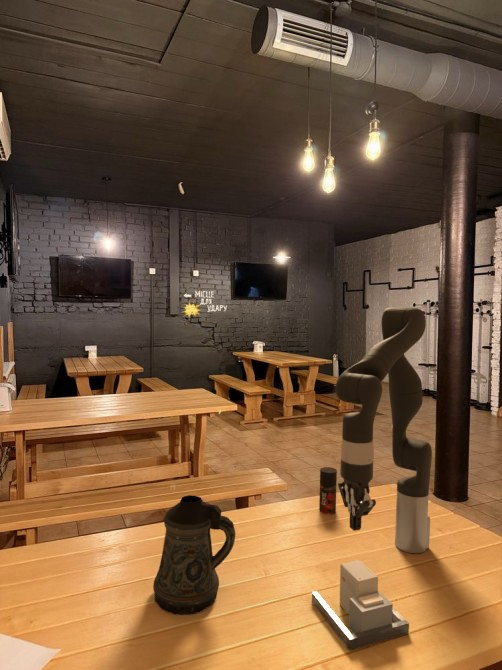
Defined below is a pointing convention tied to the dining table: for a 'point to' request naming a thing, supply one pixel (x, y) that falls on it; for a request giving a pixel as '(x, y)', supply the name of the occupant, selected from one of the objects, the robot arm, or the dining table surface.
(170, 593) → the beer stein
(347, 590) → the small box
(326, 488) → the deodorant
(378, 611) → the block
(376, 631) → the rail
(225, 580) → the dining table surface
